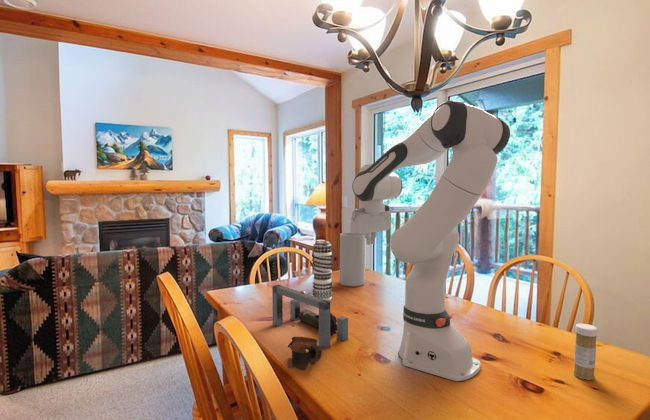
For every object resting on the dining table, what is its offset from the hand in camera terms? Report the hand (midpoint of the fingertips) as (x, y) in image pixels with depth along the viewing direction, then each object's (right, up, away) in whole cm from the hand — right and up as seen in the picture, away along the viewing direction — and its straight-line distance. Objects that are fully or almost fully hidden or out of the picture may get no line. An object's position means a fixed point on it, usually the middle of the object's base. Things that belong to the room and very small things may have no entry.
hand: (370, 244), depth 140 cm
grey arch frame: (-26, -28, -18) cm, 42 cm away
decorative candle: (-18, -26, +22) cm, 38 cm away
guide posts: (-20, -28, -13) cm, 37 cm away
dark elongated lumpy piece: (-19, -28, -11) cm, 36 cm away
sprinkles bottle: (+50, -31, -44) cm, 73 cm away
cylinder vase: (-4, -24, +46) cm, 52 cm away
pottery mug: (-23, -30, -37) cm, 53 cm away
